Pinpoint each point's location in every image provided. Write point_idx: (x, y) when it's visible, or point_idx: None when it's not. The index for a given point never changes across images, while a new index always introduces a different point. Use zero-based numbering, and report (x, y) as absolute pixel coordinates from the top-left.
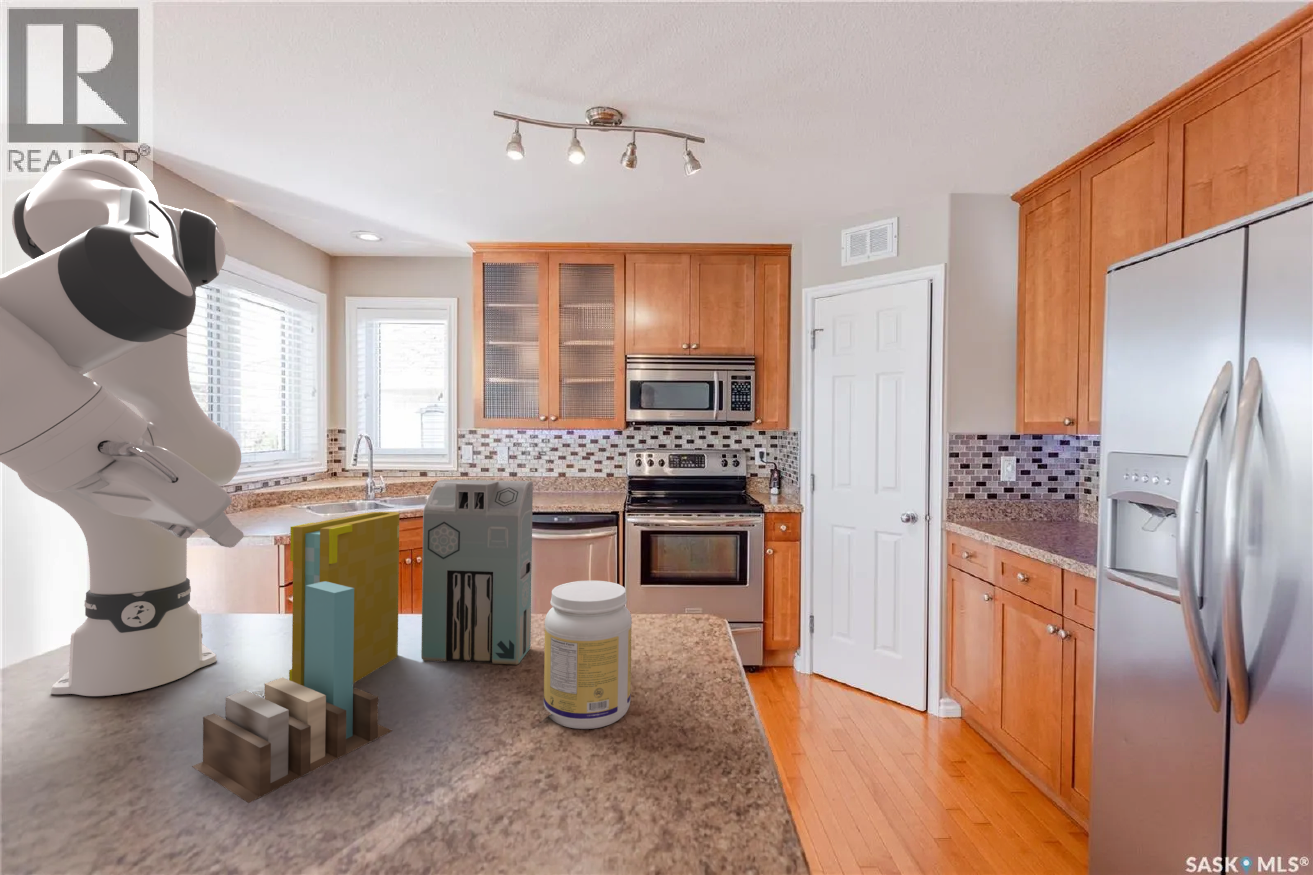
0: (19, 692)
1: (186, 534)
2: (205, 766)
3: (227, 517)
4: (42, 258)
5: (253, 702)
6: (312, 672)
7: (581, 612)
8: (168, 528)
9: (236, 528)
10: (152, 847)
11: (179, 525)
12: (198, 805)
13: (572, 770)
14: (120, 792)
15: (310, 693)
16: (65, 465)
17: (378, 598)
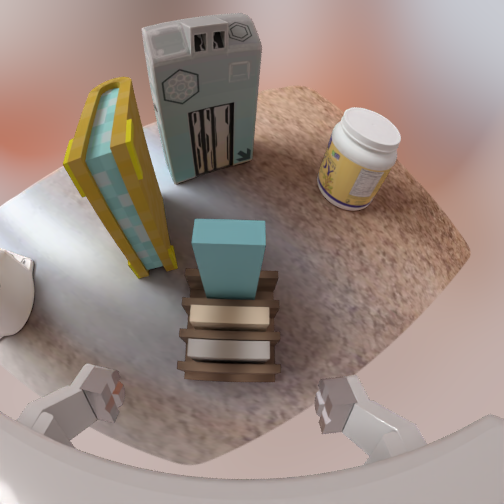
0: None
1: (120, 393)
2: (194, 374)
3: (395, 413)
4: None
5: (224, 349)
6: (217, 289)
7: (391, 152)
8: (96, 418)
9: (364, 389)
10: (250, 426)
11: (109, 407)
12: (226, 392)
13: (388, 243)
14: (158, 408)
15: (252, 312)
16: None
17: (149, 167)
